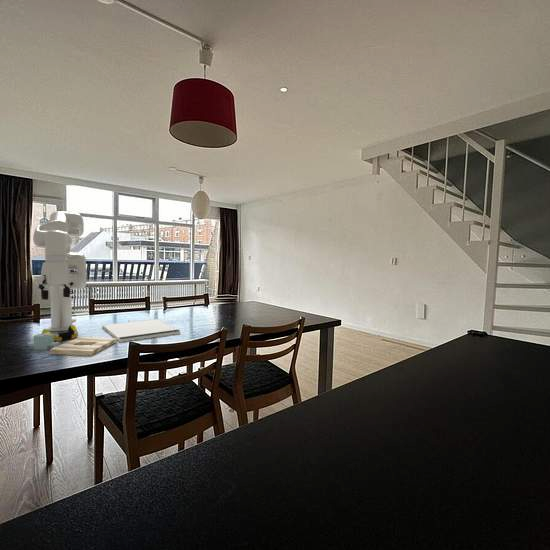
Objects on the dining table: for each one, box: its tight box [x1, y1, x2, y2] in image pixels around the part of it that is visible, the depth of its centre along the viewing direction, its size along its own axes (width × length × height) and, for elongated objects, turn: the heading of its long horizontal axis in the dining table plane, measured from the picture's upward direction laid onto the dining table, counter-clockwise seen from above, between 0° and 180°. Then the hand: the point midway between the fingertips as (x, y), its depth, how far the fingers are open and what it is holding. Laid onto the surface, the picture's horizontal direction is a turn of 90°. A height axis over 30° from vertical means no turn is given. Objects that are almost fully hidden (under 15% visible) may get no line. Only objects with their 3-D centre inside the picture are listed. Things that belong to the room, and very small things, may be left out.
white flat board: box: [101, 318, 181, 343], centre depth 178 cm, size 35×2×31 cm
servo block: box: [26, 333, 61, 350], centre depth 142 cm, size 4×12×7 cm, turn 89°
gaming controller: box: [41, 324, 79, 342], centre depth 158 cm, size 15×6×10 cm
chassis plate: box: [49, 336, 118, 357], centre depth 145 cm, size 20×18×2 cm
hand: (56, 298), depth 140 cm, fingers open, 9 cm apart
